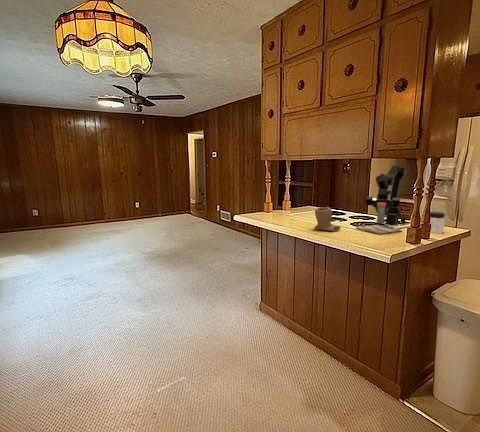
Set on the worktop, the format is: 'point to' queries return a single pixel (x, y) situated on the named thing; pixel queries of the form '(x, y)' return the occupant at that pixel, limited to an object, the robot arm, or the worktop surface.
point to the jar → (437, 222)
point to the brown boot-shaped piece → (325, 219)
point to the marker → (381, 212)
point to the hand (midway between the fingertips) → (381, 212)
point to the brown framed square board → (379, 229)
